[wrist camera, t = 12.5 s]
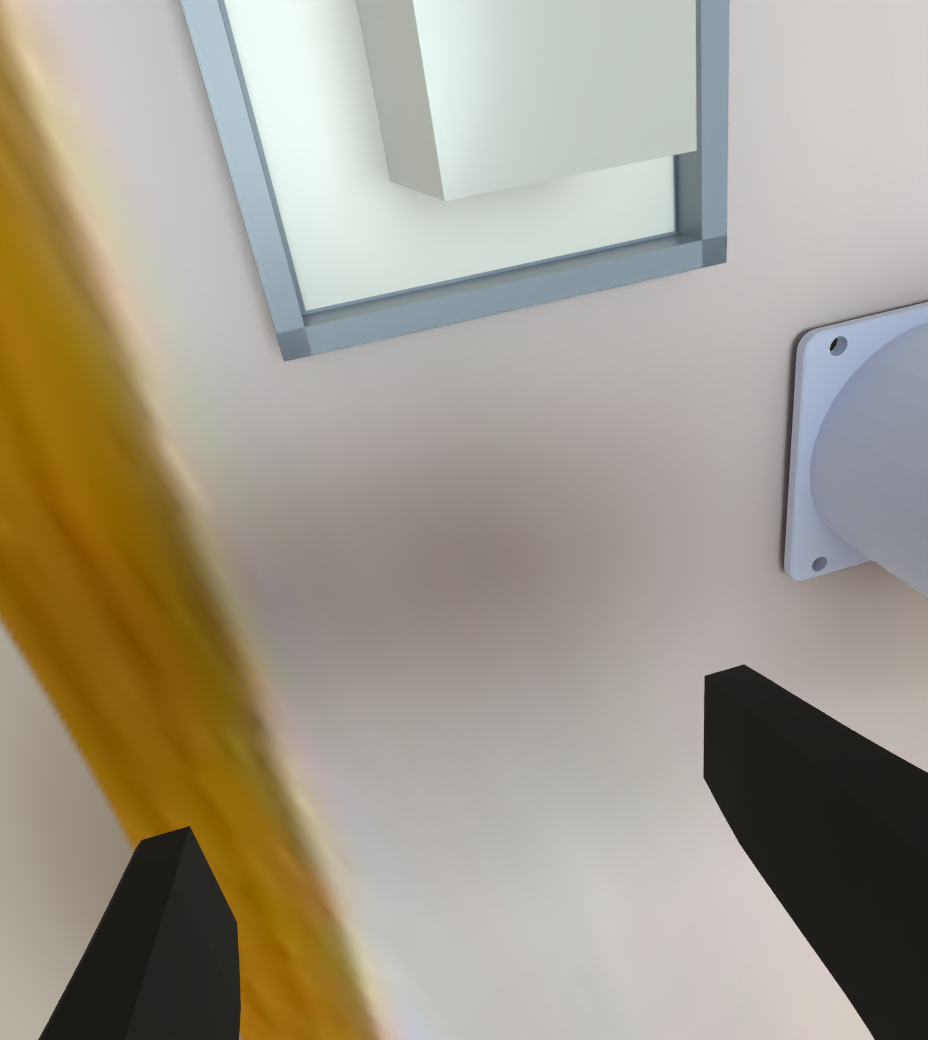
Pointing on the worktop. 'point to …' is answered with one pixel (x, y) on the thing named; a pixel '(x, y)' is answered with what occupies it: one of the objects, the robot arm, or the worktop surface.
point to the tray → (416, 216)
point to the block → (527, 88)
